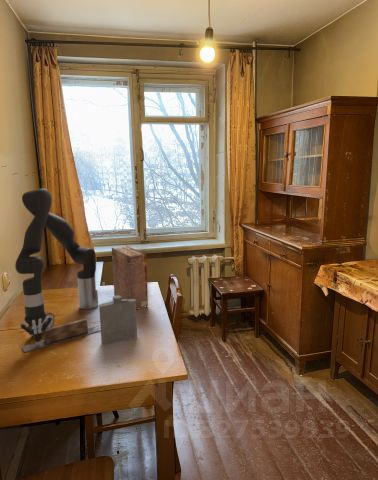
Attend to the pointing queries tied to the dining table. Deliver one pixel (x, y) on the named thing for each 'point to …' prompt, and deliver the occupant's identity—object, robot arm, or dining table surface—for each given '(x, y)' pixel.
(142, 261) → the book
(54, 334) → the brown wooden block
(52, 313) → the tin
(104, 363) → the dining table surface
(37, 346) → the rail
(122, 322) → the hip flask
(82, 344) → the dining table surface
